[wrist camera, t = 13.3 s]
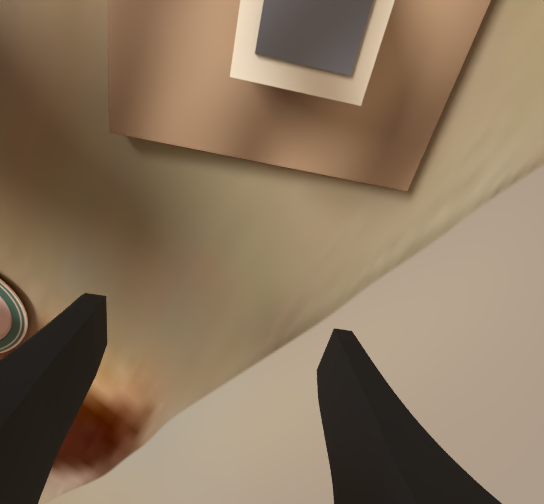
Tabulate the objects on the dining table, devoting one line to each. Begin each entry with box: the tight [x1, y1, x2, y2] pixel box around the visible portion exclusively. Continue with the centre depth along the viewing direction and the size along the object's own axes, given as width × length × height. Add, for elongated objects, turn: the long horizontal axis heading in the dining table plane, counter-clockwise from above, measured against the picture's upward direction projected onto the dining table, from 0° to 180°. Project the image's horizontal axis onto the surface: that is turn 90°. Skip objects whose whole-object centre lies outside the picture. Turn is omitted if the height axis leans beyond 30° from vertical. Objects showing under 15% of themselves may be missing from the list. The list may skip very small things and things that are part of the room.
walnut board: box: [108, 0, 491, 191], centre depth 15 cm, size 14×12×1 cm
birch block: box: [230, 0, 395, 106], centre depth 12 cm, size 4×4×5 cm
